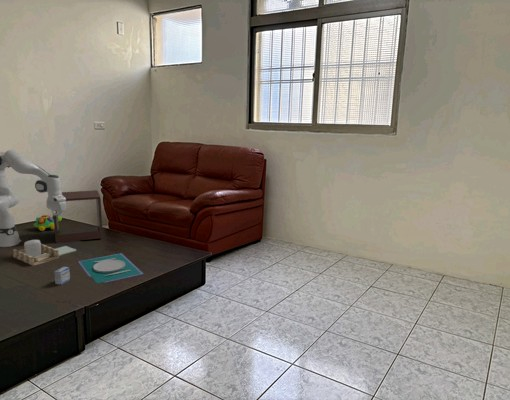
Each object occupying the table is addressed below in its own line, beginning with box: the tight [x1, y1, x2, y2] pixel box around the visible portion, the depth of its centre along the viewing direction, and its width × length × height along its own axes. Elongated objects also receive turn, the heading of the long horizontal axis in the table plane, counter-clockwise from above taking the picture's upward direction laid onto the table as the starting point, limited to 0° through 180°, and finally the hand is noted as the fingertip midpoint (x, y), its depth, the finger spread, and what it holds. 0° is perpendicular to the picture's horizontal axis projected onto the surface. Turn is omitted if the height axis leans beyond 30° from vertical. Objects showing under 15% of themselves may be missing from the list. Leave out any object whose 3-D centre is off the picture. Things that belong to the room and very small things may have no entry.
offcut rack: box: [12, 243, 60, 266], centre depth 268 cm, size 26×18×6 cm
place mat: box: [77, 252, 144, 284], centre depth 256 cm, size 45×30×2 cm
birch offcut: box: [34, 253, 50, 261], centre depth 264 cm, size 4×10×2 cm, turn 162°
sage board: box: [55, 245, 77, 257], centre depth 282 cm, size 14×14×1 cm
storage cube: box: [52, 189, 104, 244], centre depth 316 cm, size 35×29×35 cm
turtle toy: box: [33, 214, 63, 232], centre depth 337 cm, size 17×23×12 cm
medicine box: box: [53, 266, 71, 286], centre depth 230 cm, size 8×4×9 cm, turn 170°
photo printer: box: [23, 239, 43, 257], centre depth 269 cm, size 10×4×12 cm, turn 130°
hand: (57, 215), depth 275 cm, fingers open, 5 cm apart
